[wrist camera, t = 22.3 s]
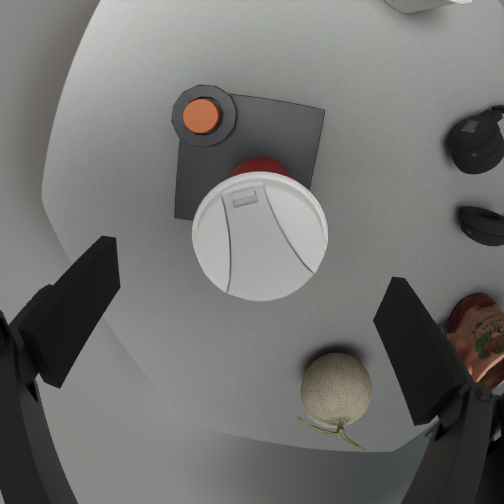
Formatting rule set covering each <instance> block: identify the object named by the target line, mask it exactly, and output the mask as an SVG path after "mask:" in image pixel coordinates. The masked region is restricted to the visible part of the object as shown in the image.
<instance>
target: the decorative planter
mask: <svg viewBox="0 0 504 504" xmlns="http://www.w3.org/2000/svg"><path fill="white" fill-rule="evenodd" d="M447 338H448V339H449V340H450V341H451V342H452V344H453V345H454V347H455V349H456V350H457V351H456V352H458V354H459V355H460V359H462V360H463V362H464V364H465V366H466V367H467V369H468V371H469V373H470V375H471V376H472V378H473V380H474V382H481V383H484V384H485V385H486V386H488V387H489V389H490V390H491V391H492V390H494V389H495V388H496V387H498V386H499V385H500V384H501V383H502V382H504V313H503V312H502V311H501V310H500V308H499V307H498V305H497V304H496V303H495V301H494V300H493V299H492V298H490V297H489V296H487V295H485V294H475V295H471V296H469V297H467V298H465V299H463V300H462V301H461V302H460V303H459V304H458V305H457V306H456V308H455V309H454V311H453V313H452V315H451V317H450V320H449V324H448V336H447Z"/></svg>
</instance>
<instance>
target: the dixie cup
mask: <svg viewBox="0 0 504 504" xmlns="http://www.w3.org/2000/svg"><path fill="white" fill-rule="evenodd" d="M385 1H386V2H387V3H388V4H389V5H390V6H391V7H393V8H394V9H396V10H398V11H400V12H403V13H415V12H418V11H422V10H426V9H431V8H435V7H440V6H445V5H450V4H455V3H458V4H467V3H469V2H471V1H472V0H385Z"/></svg>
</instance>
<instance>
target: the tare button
mask: <svg viewBox="0 0 504 504" xmlns="http://www.w3.org/2000/svg"><path fill="white" fill-rule="evenodd" d="M220 116H221V115H220V110H219V108H218V106H217V105H216V104H215V103H214V102H212V101H209V100H205V99H198V100H194V101H192V102H191V103H189V104H188V105H187V107H186V108H185V110H184V113H183V120H184V123H185V125H186V127H187V128H188V129H189V130H191V131H193V132H195V133H204V132H208V131H210V130H212V129H214V128H215V127H216V126H217V125H218V123H219V121H220Z"/></svg>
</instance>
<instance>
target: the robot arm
mask: <svg viewBox="0 0 504 504" xmlns="http://www.w3.org/2000/svg"><path fill="white" fill-rule="evenodd" d="M119 289H120V278H119V268H118V258H117V245H116V238H115V237H108V236H101V237H100V238H99V239H98V240H97V241H96V242H95V243H94V244H93V245H92V246H91V247H90V248H89V249H88V250H87V251H86V252H85V253H84V254H83V255H82V256H81V257H80V258H79V259H78V260H77V261H76V262H75V263H74V264H73V265H72V266H71V267H70V268H69V269H68V270H67V271H66V272H65V273H64V274H63V275H62V276H61V278H60V279H59V280H58V281H57V282H56V283H55V284H54V285H50V284H48V285H47V286H45V287H43V288H42V289H40V290H39V291H38V292H37V293H36V294H35V295H34V296H33V297H32V300H30V301H29V302H28V303H27V304H26V306H25V307H24V308H23V309H22V310H21V311H20V312H19V313H18V315H17V316H16V317H15V318H14V319H13V321H12V322H11V323H10V324H9V325H8V324H7V321H6V319H5V317H4V314H3V312H1V310H0V489H1V493H2V496H3V499H4V502H5V504H78V502H77V500H76V498H75V496H74V494H73V492H72V490H71V487H70V485H69V483H68V481H67V478H66V476H65V473H64V471H63V469H62V466H61V463H60V461H59V458H58V455H57V452H56V450H55V447H54V444H53V441H52V438H51V435H50V432H49V428H48V425H47V421H46V418H45V414H44V410H43V407H42V402H41V398H40V394H39V389H38V384H37V382H36V380H35V378H36V376H37V374H38V373H39V374H40V376H41V377H42V379H43V381H44V382H45V383H47V384H50V385H52V386H54V387H57V388H59V389H60V388H61V386H62V384H63V382H64V380H65V378H66V376H67V375H68V373H69V371H70V369H71V367H72V366H73V364H74V362H75V360H76V358H77V357H78V355H79V353H80V351H81V350H82V348H83V346H84V345H85V343H86V341H87V340H88V338H89V336H90V335H91V333H92V331H93V330H94V328H95V326H96V324H97V323H98V321H99V320H100V318H101V317H102V315H103V313H104V312H105V310H106V309H107V307H108V306H109V304H110V302H111V301H112V299H113V298H114V296H115V295H116V293H117V292H118V290H119ZM373 322H374V324H375V326H376V328H377V331H378V333H379V335H380V338H381V340H382V342H383V345H384V347H385V349H386V352H387V354H388V357H389V359H390V361H391V364H392V366H393V369H394V371H395V374H396V377H397V379H398V382H399V384H400V387H401V390H402V392H403V395H404V398H405V400H406V403H407V406H408V409H409V411H410V414H411V417H412V420H413V423H414V426H417V425H422V424H427V423H429V422H430V421H431V420H432V419H433V418H434V417H435V416H436V415H438V418H439V421H438V422H437V423H436V424H435V425H434V426H433V427H432V428H431V429H430V430H429V431H428V432H427V433H426V434H425V436H426V437H427V436H428V435H429V434H430V433H431V432H432V435H431V437H430V441H429V444H428V446H427V448H426V451H425V453H424V456H423V458H422V461H421V463H420V466H419V468H418V470H417V472H416V474H415V477H414V478H413V481H412V483H411V485H410V487H409V489H408V491H407V493H406V495H405V497H404V499H403V500H402V502H401V504H504V393H503V394H502V395H501V396H499V395H493V394H492V391H491V390H490V389H489V387H488V386H486V385H485V384H484V383H481V382H474V380H473V378H472V376H471V375H470V373H469V371H468V369H467V367H466V366H465V364H464V362H463V360H462V359H460V355H459V354H458V352H456V351H457V350H456V349H455V347H454V345H453V344H452V342H451V341H450V340H449V339H448V338H447V337H446V336H445V335H444V334H442V333H441V331H440V330H439V328H438V327H437V325H436V324H435V322H434V320H433V319H432V317H431V316H430V314H429V313H428V311H427V310H426V308H425V307H424V305H423V304H422V302H421V301H420V299H419V298H418V296H417V295H416V293H415V292H414V291H413V289H412V288H411V286H410V285H409V283H408V282H407V281H406V279H405V278H399V277H392V279H391V281H390V284H389V286H388V288H387V291H386V293H385V295H384V298H383V300H382V302H381V304H380V306H379V309H378V311H377V313H376V315H375V317H374V319H373ZM500 430H501V437H500V438H498V439H497V440H496V441H494V436H495V435H496V434H497V433H498V432H499V431H500Z"/></svg>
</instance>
